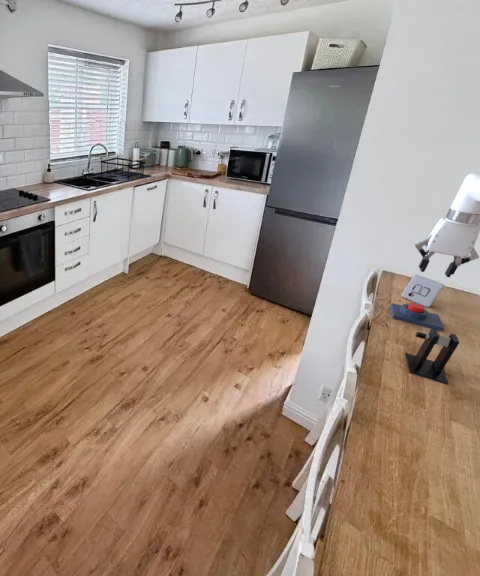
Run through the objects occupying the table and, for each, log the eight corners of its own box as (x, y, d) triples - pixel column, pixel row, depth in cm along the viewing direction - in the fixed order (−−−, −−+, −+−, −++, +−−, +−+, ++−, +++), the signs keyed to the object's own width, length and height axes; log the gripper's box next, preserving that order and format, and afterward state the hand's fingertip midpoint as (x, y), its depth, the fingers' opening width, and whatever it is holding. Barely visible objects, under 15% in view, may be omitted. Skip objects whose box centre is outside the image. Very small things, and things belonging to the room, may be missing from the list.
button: (421, 309, 123) (423, 305, 122) (422, 314, 120) (425, 310, 119) (406, 306, 125) (408, 301, 124) (407, 311, 122) (410, 306, 121)
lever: (414, 337, 107) (417, 329, 106) (436, 343, 104) (439, 335, 104) (429, 342, 95) (433, 333, 95) (454, 349, 93) (458, 340, 92)
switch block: (435, 320, 124) (441, 310, 122) (440, 333, 117) (446, 323, 115) (388, 308, 130) (393, 298, 128) (391, 320, 123) (396, 310, 121)
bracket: (403, 356, 105) (422, 321, 100) (439, 366, 101) (460, 331, 96) (407, 375, 97) (428, 338, 92) (446, 387, 94) (470, 350, 88)
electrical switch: (399, 296, 139) (412, 274, 135) (406, 295, 141) (418, 273, 137) (428, 308, 132) (442, 285, 128) (434, 306, 134) (448, 283, 130)
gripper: (499, 220, 106) (466, 276, 115) (424, 209, 114) (399, 262, 123) (507, 226, 101) (472, 285, 109) (428, 214, 108) (402, 269, 117)
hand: (434, 272), depth 116 cm, fingers open, 5 cm apart
